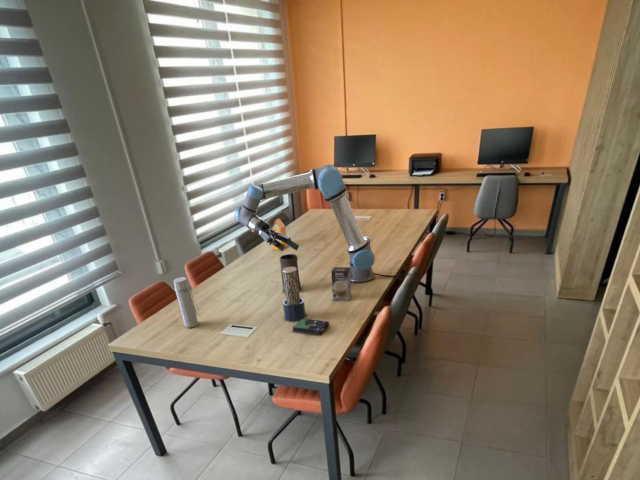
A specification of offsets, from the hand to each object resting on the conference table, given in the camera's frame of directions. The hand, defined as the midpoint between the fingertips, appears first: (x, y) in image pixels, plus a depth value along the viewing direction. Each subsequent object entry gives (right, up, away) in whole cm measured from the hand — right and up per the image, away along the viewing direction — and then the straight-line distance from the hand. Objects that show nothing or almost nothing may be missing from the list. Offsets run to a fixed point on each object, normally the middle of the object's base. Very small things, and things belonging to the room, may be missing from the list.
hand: (290, 248), depth 225 cm
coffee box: (+28, -20, +19) cm, 39 cm away
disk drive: (+10, -42, -7) cm, 44 cm away
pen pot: (+2, -33, +6) cm, 34 cm away
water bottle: (-52, -36, +14) cm, 64 cm away
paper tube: (+2, -33, +7) cm, 34 cm away
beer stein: (+2, -10, +39) cm, 40 cm away
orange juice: (-7, +39, +109) cm, 116 cm away
